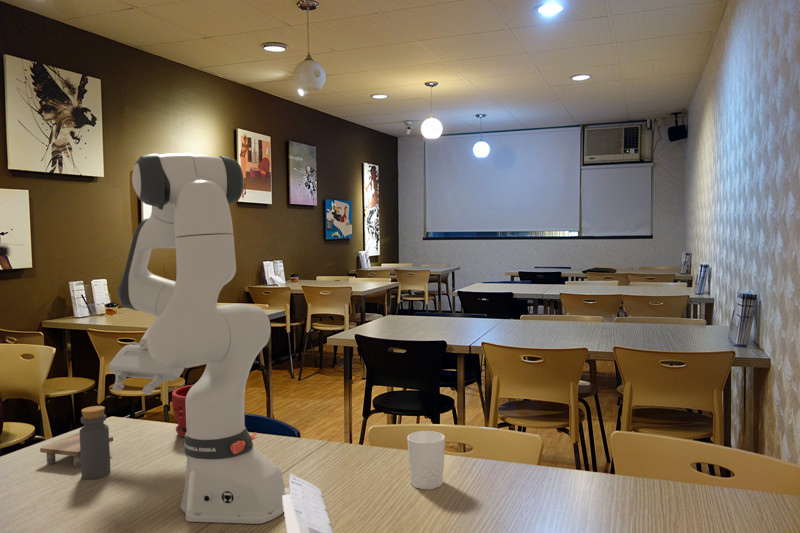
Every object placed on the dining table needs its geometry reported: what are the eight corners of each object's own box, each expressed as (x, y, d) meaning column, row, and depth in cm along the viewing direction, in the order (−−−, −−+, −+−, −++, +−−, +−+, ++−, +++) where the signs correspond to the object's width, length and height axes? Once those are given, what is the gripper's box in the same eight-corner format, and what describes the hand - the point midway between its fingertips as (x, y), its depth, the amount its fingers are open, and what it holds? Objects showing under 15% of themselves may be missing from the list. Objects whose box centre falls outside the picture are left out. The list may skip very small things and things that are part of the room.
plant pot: (162, 438, 162) (160, 393, 162) (196, 423, 174) (195, 381, 174) (202, 443, 157) (200, 397, 157) (234, 428, 169) (233, 385, 169)
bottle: (102, 479, 135) (99, 412, 134) (76, 479, 135) (73, 412, 134) (115, 469, 141) (112, 404, 140) (89, 469, 141) (87, 405, 140)
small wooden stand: (113, 452, 152) (113, 436, 151) (78, 469, 141) (77, 452, 141) (78, 449, 155) (77, 433, 155) (41, 464, 144) (40, 448, 144)
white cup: (453, 482, 130) (452, 435, 129) (428, 494, 124) (428, 445, 123) (424, 473, 135) (424, 428, 135) (400, 484, 129) (399, 437, 129)
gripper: (121, 334, 157) (90, 381, 149) (184, 338, 150) (155, 387, 141) (135, 349, 162) (106, 395, 153) (197, 353, 154) (170, 402, 145)
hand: (130, 391), depth 147 cm, fingers open, 8 cm apart
